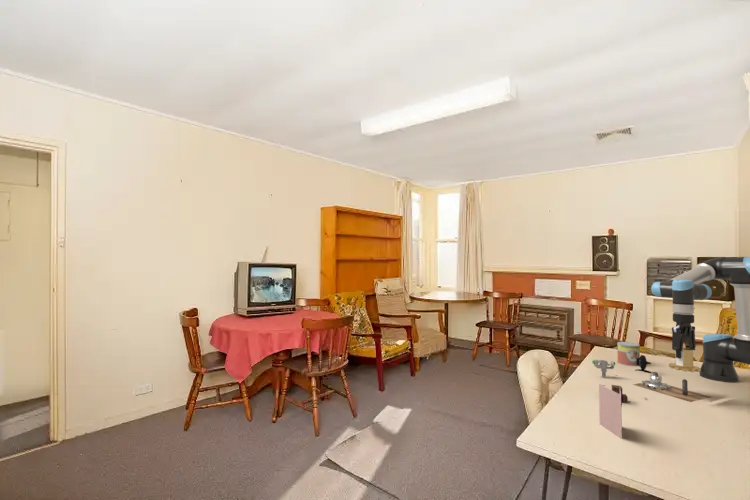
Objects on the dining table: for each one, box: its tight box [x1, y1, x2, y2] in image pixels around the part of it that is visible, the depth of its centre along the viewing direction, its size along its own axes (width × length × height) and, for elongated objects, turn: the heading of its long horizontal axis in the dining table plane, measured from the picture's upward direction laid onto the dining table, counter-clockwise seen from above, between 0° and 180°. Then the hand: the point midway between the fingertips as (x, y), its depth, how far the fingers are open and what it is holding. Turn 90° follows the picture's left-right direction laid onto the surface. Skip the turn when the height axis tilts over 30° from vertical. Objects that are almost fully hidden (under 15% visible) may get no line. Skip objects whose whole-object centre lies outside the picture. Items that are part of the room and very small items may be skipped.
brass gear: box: [668, 347, 701, 373], centre depth 165 cm, size 11×11×9 cm
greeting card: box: [598, 383, 624, 439], centre depth 132 cm, size 11×7×15 cm, turn 148°
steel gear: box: [641, 374, 671, 390], centre depth 176 cm, size 11×11×5 cm
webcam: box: [634, 354, 652, 374], centre depth 202 cm, size 8×8×10 cm
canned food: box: [616, 341, 641, 367], centre depth 221 cm, size 11×11×12 cm
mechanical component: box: [592, 359, 616, 379], centre depth 189 cm, size 3×10×10 cm, turn 79°
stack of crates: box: [611, 384, 629, 404], centre depth 162 cm, size 15×15×7 cm
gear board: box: [632, 371, 711, 403], centre depth 170 cm, size 16×24×8 cm, turn 23°
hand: (684, 364), depth 165 cm, fingers closed on brass gear, 6 cm apart
